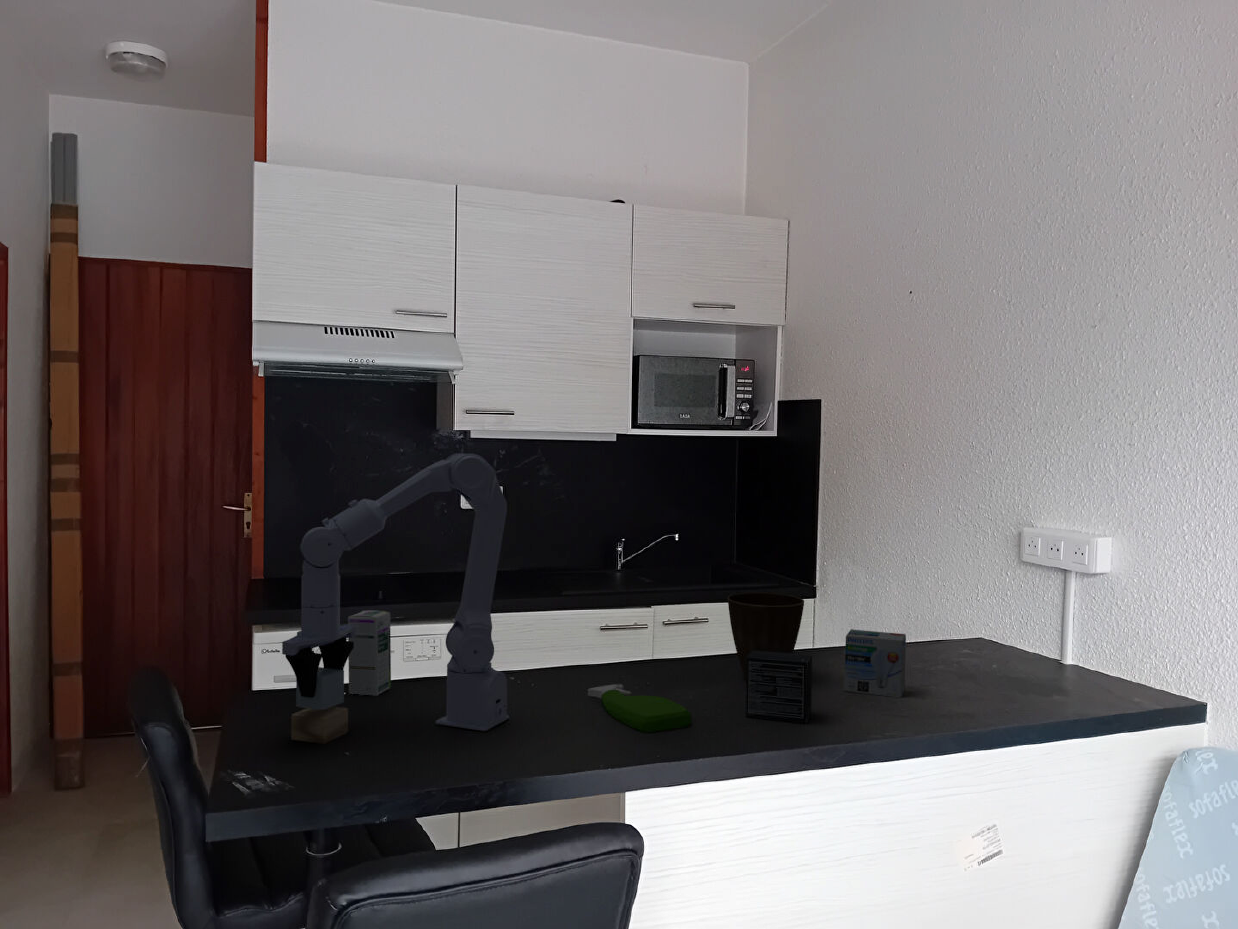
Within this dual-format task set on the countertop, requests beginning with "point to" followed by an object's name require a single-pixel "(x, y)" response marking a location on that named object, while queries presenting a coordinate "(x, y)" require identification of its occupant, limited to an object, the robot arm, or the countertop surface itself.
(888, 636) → the light bulb box
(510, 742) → the countertop surface
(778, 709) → the small box
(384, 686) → the syrup box
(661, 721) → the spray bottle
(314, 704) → the blue-grey cube
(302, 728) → the oak block
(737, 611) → the plant pot
